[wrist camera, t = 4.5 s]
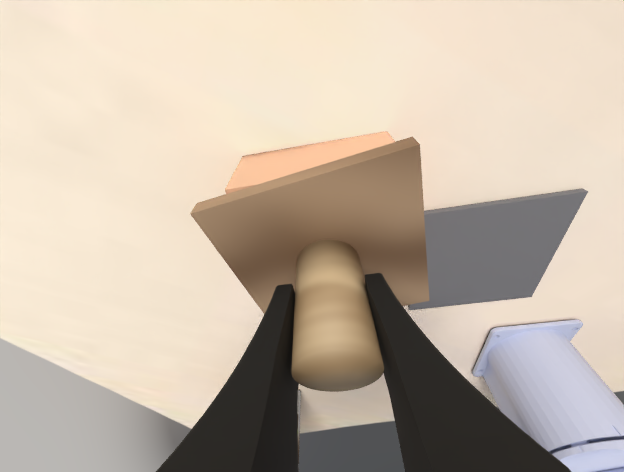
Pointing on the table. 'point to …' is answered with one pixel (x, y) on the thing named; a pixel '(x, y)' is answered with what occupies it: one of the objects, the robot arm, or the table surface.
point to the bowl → (299, 159)
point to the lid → (329, 253)
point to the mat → (494, 247)
